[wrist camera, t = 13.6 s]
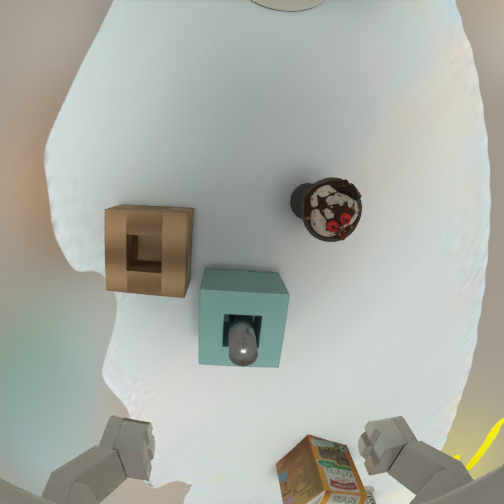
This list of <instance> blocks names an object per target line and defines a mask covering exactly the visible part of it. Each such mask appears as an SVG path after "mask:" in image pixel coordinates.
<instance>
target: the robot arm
mask: <svg viewBox="0 0 504 504" xmlns="http://www.w3.org/2000/svg"><path fill="white" fill-rule="evenodd" d="M252 1H254V2H256V3H258V4H260V5H262V6H265V7H268V8H272V9H276V10H282V11H300V10H306V9H309V8H312V7H315V6H317V5H318V4H320V3H321V2H322V1H324V0H252ZM152 429H153V428H152V423H150V422H144V421H139V420H133V419H128V418H122V417H117V416H111V417H110V418H109V421H108V423H107V426H106V428H105V431H104V434H103V436H102V439H101V441H100V444H99V446H96V445H95V446H93V447H92V448H91V449H89V450H87V451H86V452H84V453H82V454H81V455H79V456H78V457H76V458H74V459H73V460H71V461H70V462H68V463H66V464H65V465H63V466H61V467H60V468H58V469H56V470H55V471H53V472H52V473H51V475H50V477H49V480H48V482H47V484H46V487H45V489H44V491H43V494H42V496H41V497H40V496H38V495H35V494H33V493H31V492H28V491H26V490H24V489H22V488H19V487H17V486H15V485H13V484H11V483H9V482H7V481H5V480H3V479H1V478H0V504H100V502H101V501H103V499H105V498H106V497H107V496H108V495H109V494H111V492H113V491H114V490H115V489H116V488H117V487H118V486H119V485H120V484H122V483H123V482H124V481H125V480H126V479H127V477H128V478H135V479H141V480H148V481H149V478H150V473H151V468H152V467H151V463H150V461H151V460H152V459H153V458H154V453H155V439H154V436H153V435H152ZM365 431H366V432H364V433H363V434H362V435H361V436H360V439H359V443H358V448H359V452H360V455H361V456H362V457H363V458H365V459H366V460H365V463H364V465H365V467H366V469H367V472H368V474H369V475H374V474H379V473H384V472H387V473H388V474H389V475H391V476H392V477H393V478H395V479H396V480H397V481H398V482H400V483H401V484H402V485H404V486H405V487H406V488H407V489H409V490H410V491H411V492H413V493H414V494H415V495H416V496H415V498H414V499H413V500H412V501H411V502H410V504H504V464H503V465H502V466H500V467H498V468H496V469H495V470H493V471H491V472H489V473H487V474H485V475H483V476H482V477H480V478H478V479H476V480H473V479H472V477H471V476H470V475H469V473H468V471H467V470H466V468H465V467H464V465H463V463H462V462H461V461H459V460H457V459H455V458H453V457H450V456H449V455H447V454H445V453H443V452H441V451H439V450H437V449H435V448H433V447H432V446H430V445H428V444H426V443H424V442H422V441H419V442H418V440H417V439H416V437H415V435H414V434H413V432H412V430H411V429H410V427H409V426H408V424H407V422H406V421H405V419H404V418H403V417H402V416H399V417H393V418H387V419H381V420H375V421H369V422H368V423H367V424H366V426H365Z"/></svg>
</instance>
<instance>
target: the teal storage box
mask: <svg viewBox="0 0 504 504" xmlns="http://www.w3.org/2000/svg"><path fill="white" fill-rule="evenodd" d="M288 301H289V292H288V291H287V289H286V287H285V285H284V283H283V281H282V279H281V277H280V275H279V273H266V272H250V271H234V270H219V269H205V272H204V276H203V280H202V284H201V288H200V309H199V364H204V365H219V366H238V365H235V364H234V363H232V362H231V360H230V359H229V314H236V315H252V319H253V325H254V332H255V338H256V344H257V351H258V357H257V359H256V361H255V362H254V363H252V364H251V365H248V366H239V367H279V363H280V356H281V350H282V343H283V337H284V330H285V323H286V316H287V309H288Z"/></svg>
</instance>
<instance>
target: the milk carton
mask: <svg viewBox="0 0 504 504" xmlns="http://www.w3.org/2000/svg"><path fill="white" fill-rule="evenodd" d="M276 466H277V472H278V477H279V483H280V488H281V494H282V500H283V504H364V502H365V500H366V497H367V493H366V491H365V489H364V486H363V484H362V481H361V479H360V477H359V474H358V472H357V469H356V467H355V465H354V462H353V460H352V457H351V455H350V453H349V450H348V448H347V445H343V444H339V443H336V442H332V441H328V440H325V439H321V438H318V437H315V436H312V435H307V436H306V437H305V438H304V439H303V440H302V441H301V442H300V443H299V444H297V445H296V446H295V447H294V448H293V449H292V450H291V451H290V452H289V453H288V454H287V455H285V456H284V457H283V458H282V459H281V460H280V461H279V462H277V463H276Z"/></svg>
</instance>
